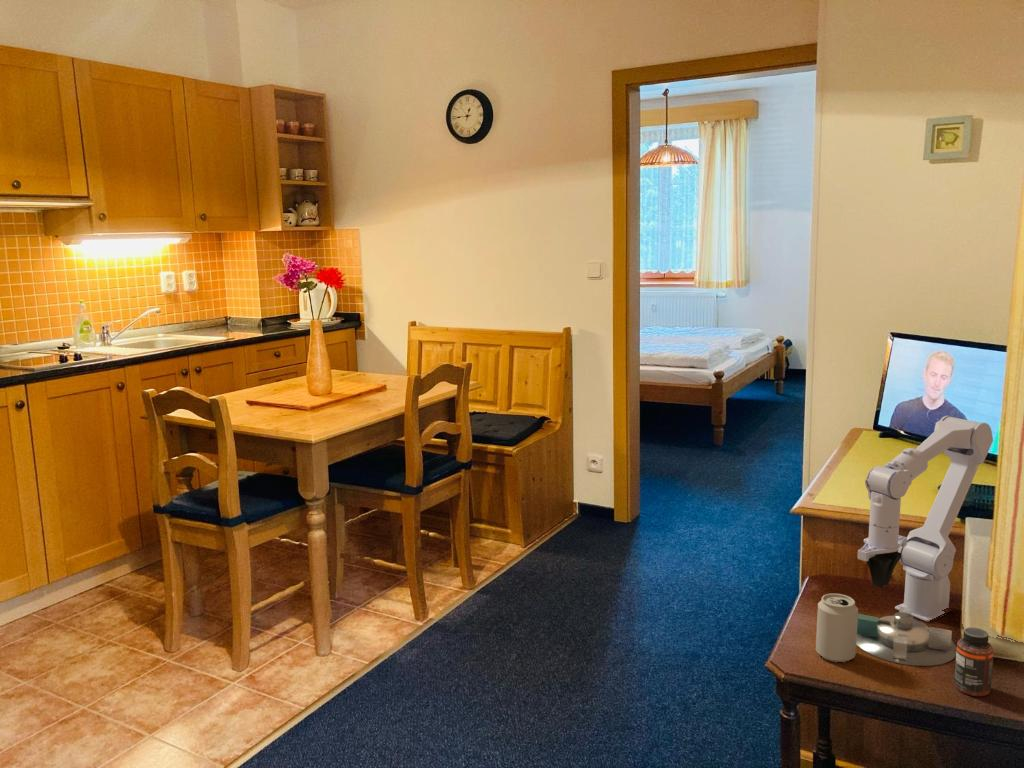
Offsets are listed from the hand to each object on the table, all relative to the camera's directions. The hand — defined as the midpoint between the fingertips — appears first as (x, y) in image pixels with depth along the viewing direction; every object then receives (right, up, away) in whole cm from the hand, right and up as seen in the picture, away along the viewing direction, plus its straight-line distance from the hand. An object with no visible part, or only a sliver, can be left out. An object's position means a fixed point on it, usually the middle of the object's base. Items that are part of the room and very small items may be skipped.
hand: (880, 584), depth 179 cm
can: (-13, -12, -10) cm, 21 cm away
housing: (+2, -10, -5) cm, 12 cm away
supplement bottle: (+7, -14, -23) cm, 28 cm away
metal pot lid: (+2, -10, -5) cm, 12 cm away
